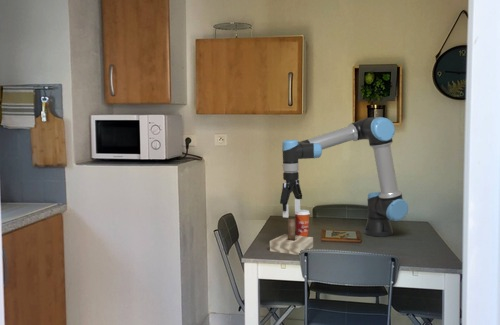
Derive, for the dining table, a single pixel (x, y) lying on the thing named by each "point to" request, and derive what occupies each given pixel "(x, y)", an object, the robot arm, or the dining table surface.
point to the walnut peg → (291, 229)
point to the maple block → (291, 244)
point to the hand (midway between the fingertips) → (291, 214)
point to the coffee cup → (302, 223)
